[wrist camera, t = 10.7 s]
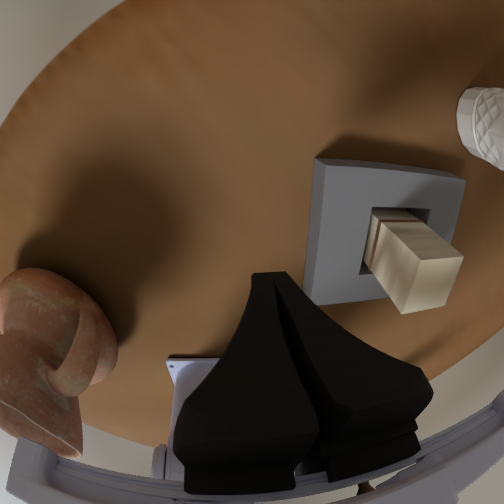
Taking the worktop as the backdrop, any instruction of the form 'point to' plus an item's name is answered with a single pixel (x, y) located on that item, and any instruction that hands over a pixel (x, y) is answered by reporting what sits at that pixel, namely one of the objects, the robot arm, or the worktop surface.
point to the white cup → (483, 123)
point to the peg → (410, 260)
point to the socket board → (367, 220)
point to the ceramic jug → (50, 357)
